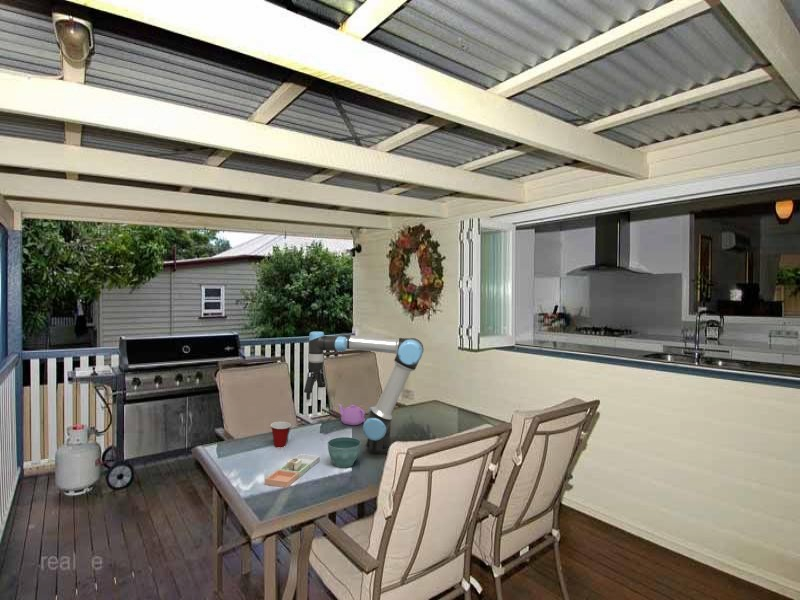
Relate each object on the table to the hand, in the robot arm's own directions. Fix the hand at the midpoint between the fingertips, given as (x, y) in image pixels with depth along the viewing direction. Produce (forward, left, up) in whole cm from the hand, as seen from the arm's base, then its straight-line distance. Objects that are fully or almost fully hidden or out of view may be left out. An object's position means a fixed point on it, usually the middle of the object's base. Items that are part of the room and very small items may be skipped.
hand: (314, 402), depth 234 cm
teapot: (+2, -59, -27) cm, 65 cm away
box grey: (-2, +14, -27) cm, 30 cm away
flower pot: (-20, +8, -27) cm, 35 cm away
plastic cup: (+22, -5, -27) cm, 35 cm away
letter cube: (-2, +25, -26) cm, 36 cm away
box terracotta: (-2, +36, -27) cm, 44 cm away
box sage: (-2, +25, -27) cm, 36 cm away
